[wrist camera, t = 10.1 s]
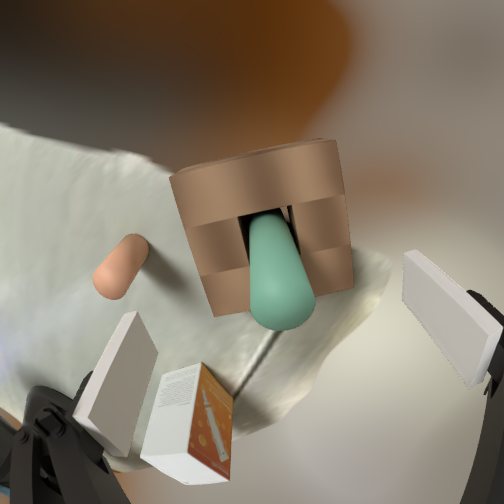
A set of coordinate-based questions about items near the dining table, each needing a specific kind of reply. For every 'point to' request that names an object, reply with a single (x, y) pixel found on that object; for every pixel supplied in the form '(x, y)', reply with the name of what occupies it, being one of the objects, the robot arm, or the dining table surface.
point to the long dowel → (277, 274)
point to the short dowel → (121, 267)
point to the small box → (190, 427)
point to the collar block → (260, 199)
